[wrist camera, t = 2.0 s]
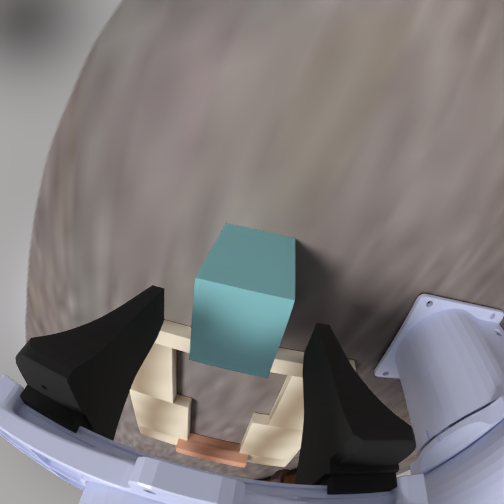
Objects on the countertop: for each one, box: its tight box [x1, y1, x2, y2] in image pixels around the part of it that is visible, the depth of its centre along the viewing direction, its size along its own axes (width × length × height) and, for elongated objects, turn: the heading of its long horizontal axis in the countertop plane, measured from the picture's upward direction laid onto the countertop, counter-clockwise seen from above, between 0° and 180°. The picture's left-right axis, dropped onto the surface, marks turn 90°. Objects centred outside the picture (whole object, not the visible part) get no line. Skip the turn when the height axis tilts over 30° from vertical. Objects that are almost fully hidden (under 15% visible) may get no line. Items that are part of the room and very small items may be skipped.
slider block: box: [189, 223, 295, 378], centre depth 15 cm, size 4×5×6 cm
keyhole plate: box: [130, 320, 356, 468], centre depth 24 cm, size 18×20×2 cm
